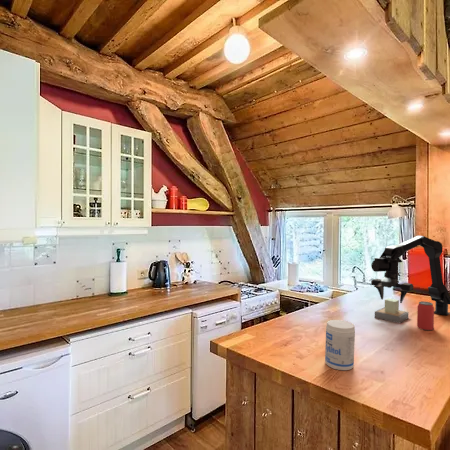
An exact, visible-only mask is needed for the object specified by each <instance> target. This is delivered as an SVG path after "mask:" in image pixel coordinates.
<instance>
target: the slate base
mask: <svg viewBox="0 0 450 450" xmlns="http://www.w3.org/2000/svg"><path fill="white" fill-rule="evenodd" d="M374 318H377V319H380V320H385V321H390V322H393V323H397V324H401V323H402V322H403V321H406V320H408V319H409V312H408V311H403V310H400V309H399V312H397V313H395V314H394V313H389V312H385V306H384V307H382V308H379V309H378V310H375V311H374Z"/></svg>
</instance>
